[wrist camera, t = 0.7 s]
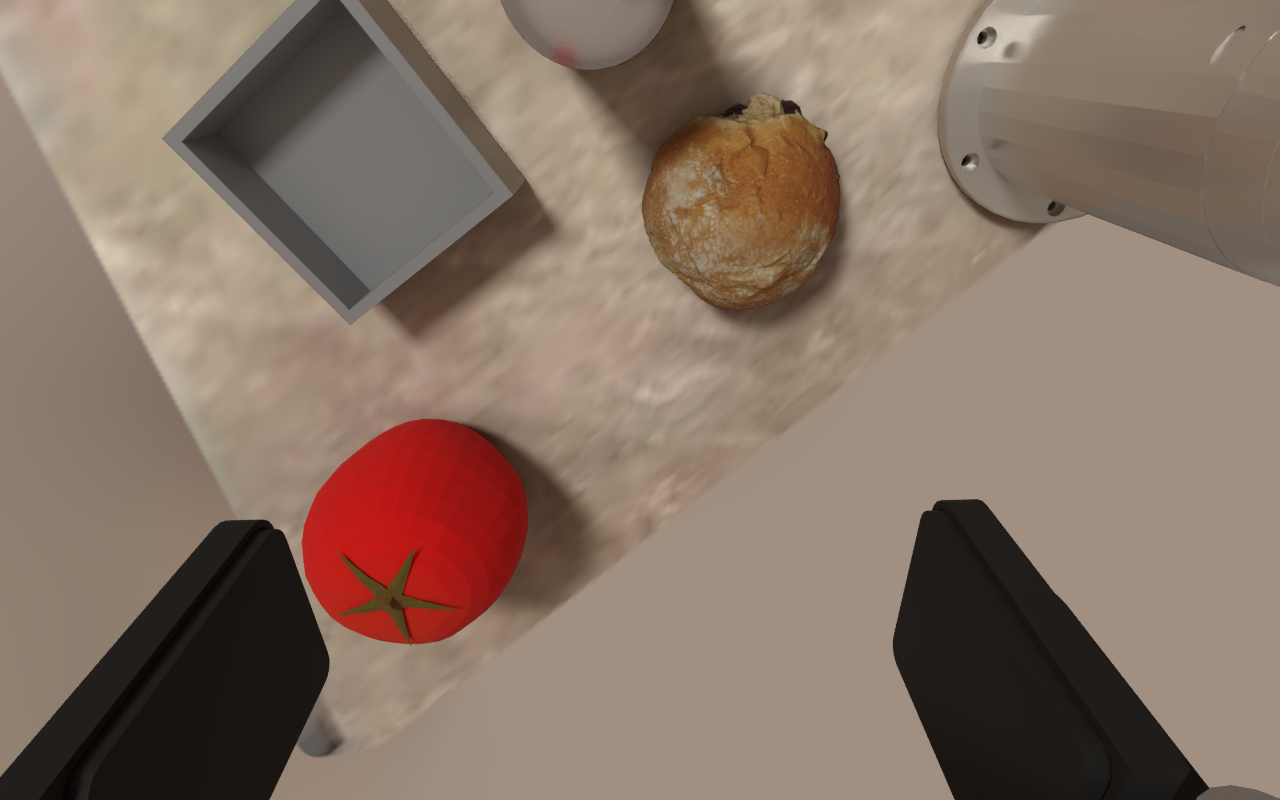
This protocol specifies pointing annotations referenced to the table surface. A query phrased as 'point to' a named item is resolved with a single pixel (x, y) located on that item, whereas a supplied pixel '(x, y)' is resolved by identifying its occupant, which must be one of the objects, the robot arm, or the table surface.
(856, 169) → the table surface
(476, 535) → the tomato
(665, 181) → the bread roll
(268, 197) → the crate
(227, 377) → the table surface
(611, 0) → the red drink can
